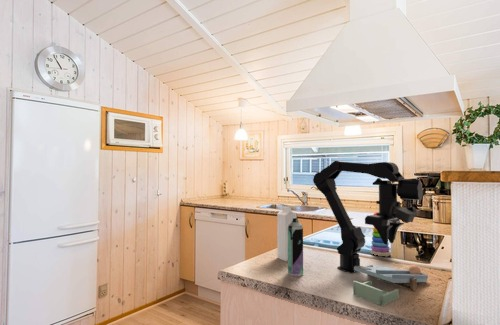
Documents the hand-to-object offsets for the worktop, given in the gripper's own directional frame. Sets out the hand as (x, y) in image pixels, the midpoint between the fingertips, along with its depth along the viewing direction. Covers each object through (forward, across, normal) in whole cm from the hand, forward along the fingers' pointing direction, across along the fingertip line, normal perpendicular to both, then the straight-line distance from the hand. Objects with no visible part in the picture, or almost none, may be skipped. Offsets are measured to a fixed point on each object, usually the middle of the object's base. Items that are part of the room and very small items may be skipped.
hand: (388, 243), depth 103 cm
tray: (+12, -17, -6) cm, 21 cm away
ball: (+8, +5, -6) cm, 12 cm away
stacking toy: (+12, +25, +19) cm, 34 cm away
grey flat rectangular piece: (+9, -2, -2) cm, 10 cm away
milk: (+12, -13, +38) cm, 42 cm away
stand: (+12, -2, -2) cm, 12 cm away
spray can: (+12, -23, +22) cm, 34 cm away
